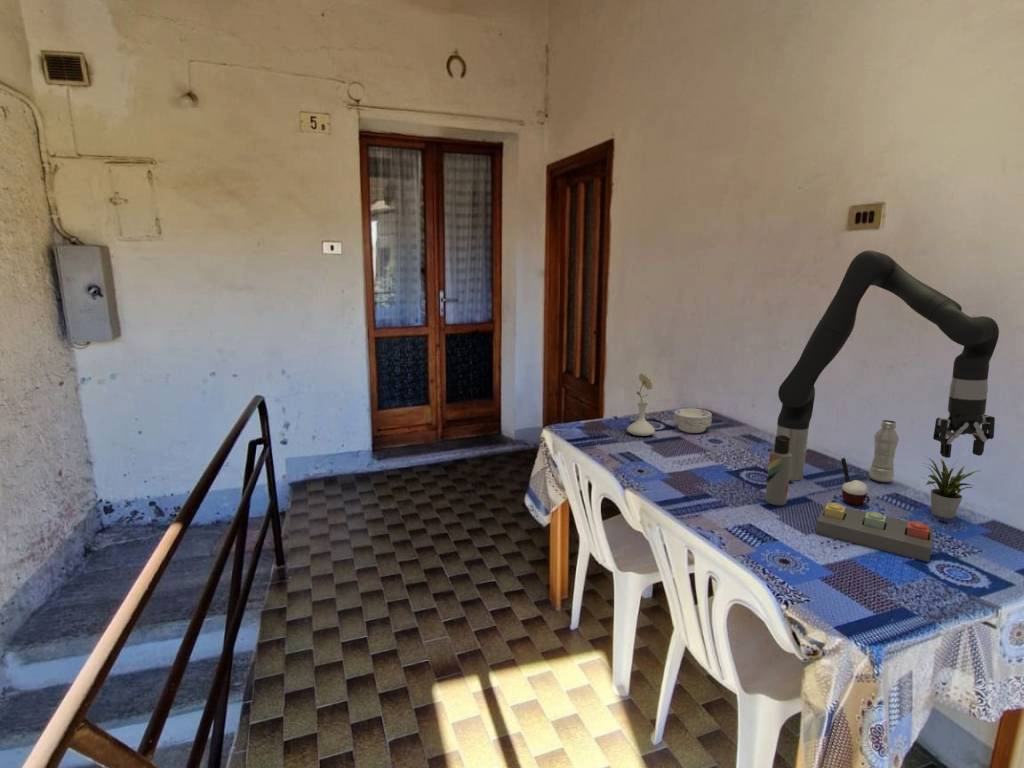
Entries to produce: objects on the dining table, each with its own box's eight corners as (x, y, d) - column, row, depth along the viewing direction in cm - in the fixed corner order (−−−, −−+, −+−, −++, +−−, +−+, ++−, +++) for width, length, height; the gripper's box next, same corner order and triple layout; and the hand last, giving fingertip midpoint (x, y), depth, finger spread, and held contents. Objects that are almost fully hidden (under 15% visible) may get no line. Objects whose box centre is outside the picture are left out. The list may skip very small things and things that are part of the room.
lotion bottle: (785, 499, 168) (792, 435, 164) (787, 507, 163) (795, 440, 159) (764, 497, 170) (771, 433, 166) (766, 504, 165) (773, 438, 161)
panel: (815, 533, 147) (817, 520, 146) (824, 514, 158) (826, 503, 157) (929, 562, 133) (931, 548, 132) (930, 539, 144) (932, 527, 143)
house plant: (895, 506, 164) (903, 453, 160) (926, 499, 169) (935, 447, 165) (948, 527, 151) (958, 469, 147) (980, 519, 156) (991, 463, 152)
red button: (905, 538, 139) (908, 524, 139) (906, 532, 143) (909, 518, 142) (926, 543, 137) (929, 529, 136) (927, 536, 140) (929, 523, 139)
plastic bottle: (896, 485, 180) (905, 424, 176) (872, 483, 181) (881, 423, 177) (887, 478, 186) (896, 419, 182) (864, 476, 187) (873, 418, 183)
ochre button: (823, 518, 150) (825, 505, 149) (826, 513, 153) (828, 500, 152) (841, 523, 147) (843, 510, 147) (844, 517, 151) (846, 504, 150)
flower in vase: (658, 438, 227) (661, 377, 222) (629, 438, 227) (632, 377, 222) (650, 429, 240) (654, 371, 235) (623, 428, 240) (626, 371, 235)
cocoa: (871, 509, 163) (880, 470, 160) (850, 509, 162) (858, 470, 159) (851, 495, 172) (859, 458, 169) (831, 494, 172) (838, 457, 169)
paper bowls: (667, 425, 245) (668, 408, 244) (701, 424, 247) (702, 407, 245) (681, 436, 231) (682, 417, 229) (717, 435, 232) (718, 416, 231)
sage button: (863, 528, 145) (865, 515, 144) (865, 522, 148) (867, 509, 147) (882, 532, 142) (884, 519, 141) (884, 526, 145) (886, 513, 145)
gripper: (981, 390, 149) (975, 449, 152) (929, 393, 148) (923, 453, 151) (1007, 396, 141) (1000, 458, 145) (953, 400, 141) (946, 462, 144)
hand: (961, 455), depth 148 cm, fingers open, 8 cm apart
